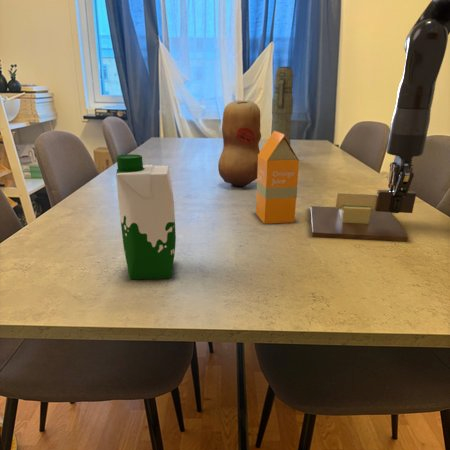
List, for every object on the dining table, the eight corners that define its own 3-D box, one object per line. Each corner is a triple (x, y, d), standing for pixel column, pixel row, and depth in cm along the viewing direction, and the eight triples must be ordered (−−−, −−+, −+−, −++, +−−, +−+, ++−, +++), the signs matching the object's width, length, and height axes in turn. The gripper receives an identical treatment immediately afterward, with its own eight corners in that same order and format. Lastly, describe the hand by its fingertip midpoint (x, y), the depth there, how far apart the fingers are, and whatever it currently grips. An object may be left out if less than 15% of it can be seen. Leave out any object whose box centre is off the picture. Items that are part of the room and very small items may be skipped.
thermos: (268, 157, 188) (272, 66, 172) (270, 153, 198) (274, 67, 182) (289, 158, 186) (295, 66, 170) (290, 154, 197) (295, 67, 181)
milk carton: (129, 262, 82) (118, 152, 72) (177, 261, 82) (172, 151, 73) (124, 282, 74) (109, 161, 65) (177, 280, 74) (170, 160, 65)
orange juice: (284, 212, 112) (289, 130, 103) (295, 222, 104) (301, 134, 95) (255, 213, 111) (257, 130, 102) (263, 223, 103) (267, 135, 94)
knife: (410, 210, 100) (414, 191, 98) (412, 213, 98) (416, 193, 96) (335, 207, 103) (337, 188, 100) (336, 209, 101) (338, 190, 99)
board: (388, 213, 112) (389, 209, 111) (406, 241, 92) (407, 237, 92) (310, 209, 114) (310, 206, 114) (312, 236, 95) (312, 232, 95)
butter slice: (367, 222, 101) (370, 207, 100) (368, 223, 100) (371, 209, 98) (341, 220, 102) (343, 206, 101) (342, 222, 101) (344, 207, 99)
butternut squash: (223, 191, 132) (223, 102, 121) (215, 182, 144) (214, 99, 132) (266, 189, 135) (270, 101, 123) (255, 180, 146) (257, 99, 135)
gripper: (435, 135, 85) (417, 220, 93) (419, 128, 97) (403, 204, 105) (396, 134, 86) (381, 218, 94) (384, 127, 98) (372, 202, 106)
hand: (393, 210), depth 100 cm, fingers closed on knife, 2 cm apart
